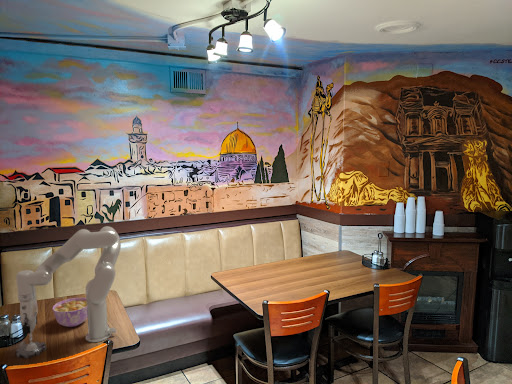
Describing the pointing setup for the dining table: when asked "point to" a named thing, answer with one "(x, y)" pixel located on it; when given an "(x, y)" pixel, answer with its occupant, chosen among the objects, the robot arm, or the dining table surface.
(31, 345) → the chalice
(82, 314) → the bowl of food
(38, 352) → the gear trivet
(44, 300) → the dining table surface
